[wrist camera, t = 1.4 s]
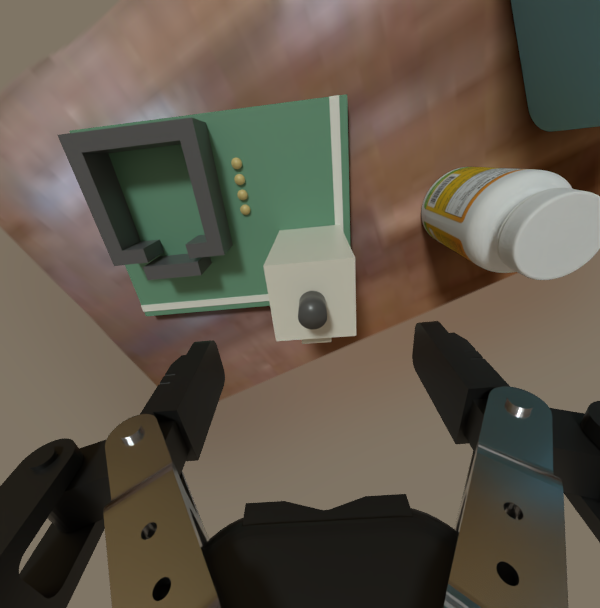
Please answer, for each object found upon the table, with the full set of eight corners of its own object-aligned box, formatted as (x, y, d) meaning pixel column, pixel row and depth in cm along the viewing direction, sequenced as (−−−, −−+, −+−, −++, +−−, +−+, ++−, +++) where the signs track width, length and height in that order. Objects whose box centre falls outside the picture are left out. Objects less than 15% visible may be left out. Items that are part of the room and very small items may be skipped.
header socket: (234, 118, 18) (224, 113, 15) (259, 258, 22) (254, 270, 20) (87, 137, 18) (57, 134, 16) (139, 270, 23) (121, 282, 20)
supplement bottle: (488, 235, 22) (608, 285, 13) (418, 246, 22) (489, 301, 14) (499, 159, 19) (654, 160, 11) (420, 173, 20) (508, 185, 11)
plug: (339, 224, 21) (360, 268, 12) (342, 292, 23) (360, 367, 15) (279, 230, 21) (258, 277, 12) (288, 296, 23) (275, 372, 15)
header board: (345, 97, 18) (347, 94, 17) (349, 293, 24) (351, 299, 23) (80, 132, 19) (68, 130, 18) (151, 310, 25) (145, 316, 24)
